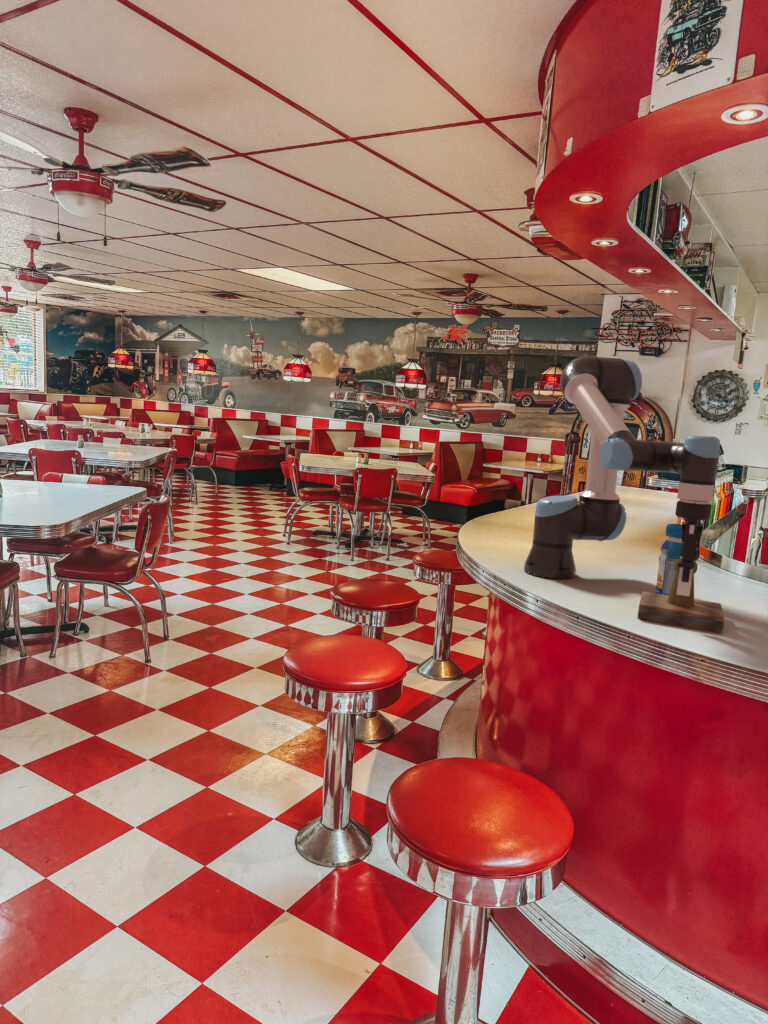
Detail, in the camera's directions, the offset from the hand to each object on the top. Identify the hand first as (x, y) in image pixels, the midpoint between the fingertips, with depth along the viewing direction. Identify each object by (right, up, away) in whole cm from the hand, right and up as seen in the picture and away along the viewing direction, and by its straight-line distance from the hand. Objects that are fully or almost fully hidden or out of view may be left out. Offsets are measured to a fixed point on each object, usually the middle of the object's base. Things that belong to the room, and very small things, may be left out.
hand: (682, 588), depth 155 cm
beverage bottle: (+6, -5, +19) cm, 20 cm away
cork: (0, -4, +1) cm, 4 cm away
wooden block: (0, -7, +1) cm, 7 cm away
